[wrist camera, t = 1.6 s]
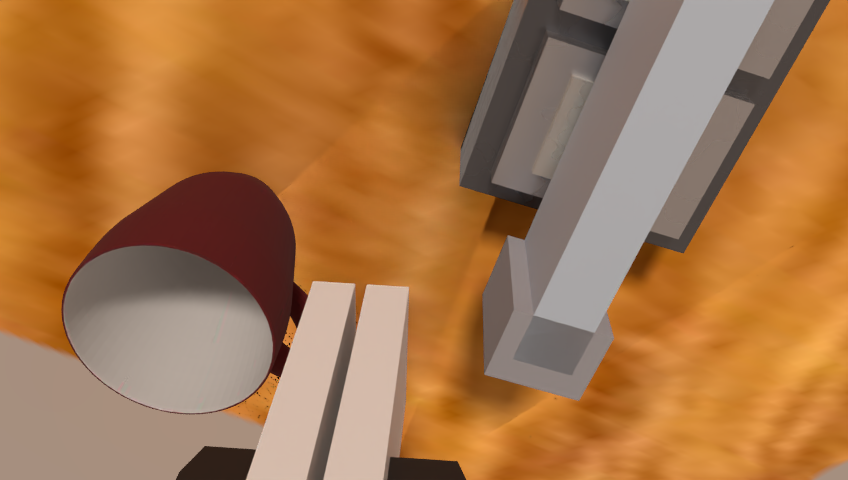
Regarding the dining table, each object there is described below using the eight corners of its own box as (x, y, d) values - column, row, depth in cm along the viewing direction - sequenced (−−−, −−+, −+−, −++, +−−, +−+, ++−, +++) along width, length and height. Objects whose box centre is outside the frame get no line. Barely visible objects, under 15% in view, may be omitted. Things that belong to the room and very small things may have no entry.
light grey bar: (671, -150, 22) (720, -140, 18) (780, -110, 22) (854, -91, 18) (482, 294, 30) (484, 374, 26) (564, 318, 31) (578, 400, 26)
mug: (396, 234, 36) (372, 367, 28) (301, 330, 39) (253, 475, 31) (215, 97, 33) (125, 199, 24) (129, 214, 36) (23, 339, 28)
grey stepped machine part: (460, 147, 34) (455, 306, 23) (630, -326, 25) (754, -431, 14) (662, 209, 35) (748, 389, 24) (896, -223, 26) (1204, -247, 15)
